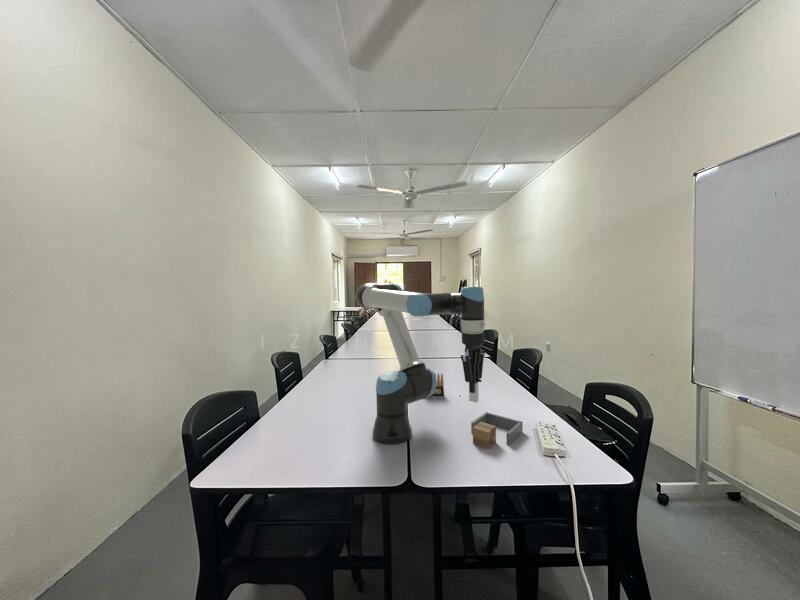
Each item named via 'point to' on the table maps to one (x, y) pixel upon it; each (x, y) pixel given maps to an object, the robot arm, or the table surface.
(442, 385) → the ammunition clip
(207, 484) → the table surface
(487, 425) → the block
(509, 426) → the corral
